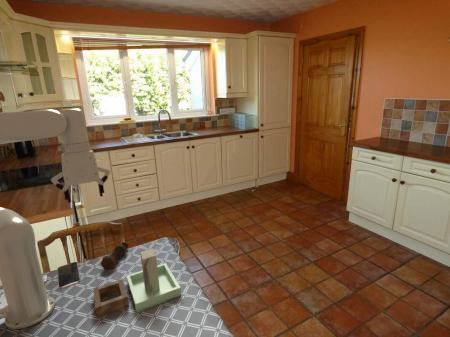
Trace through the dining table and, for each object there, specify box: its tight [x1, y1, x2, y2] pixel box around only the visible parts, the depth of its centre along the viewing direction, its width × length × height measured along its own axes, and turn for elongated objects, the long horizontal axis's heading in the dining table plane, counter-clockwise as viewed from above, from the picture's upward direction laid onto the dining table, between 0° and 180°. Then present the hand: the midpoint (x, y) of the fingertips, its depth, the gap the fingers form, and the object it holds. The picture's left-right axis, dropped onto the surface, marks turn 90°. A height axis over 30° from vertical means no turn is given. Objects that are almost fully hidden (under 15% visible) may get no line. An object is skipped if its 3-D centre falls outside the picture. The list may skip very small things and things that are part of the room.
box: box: [140, 248, 160, 294], centre depth 91 cm, size 5×4×13 cm
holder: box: [93, 278, 130, 319], centre depth 87 cm, size 9×10×4 cm
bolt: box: [100, 241, 129, 271], centre depth 111 cm, size 6×5×15 cm
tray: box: [125, 262, 182, 313], centre depth 92 cm, size 14×16×3 cm
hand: (85, 198), depth 93 cm, fingers open, 9 cm apart
